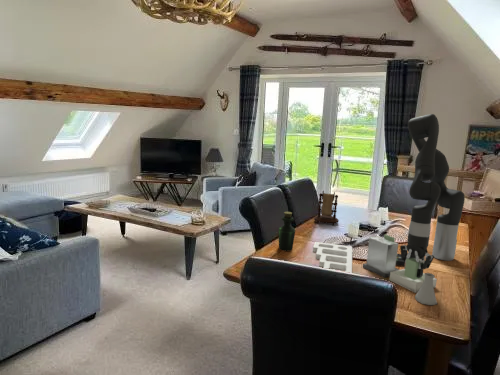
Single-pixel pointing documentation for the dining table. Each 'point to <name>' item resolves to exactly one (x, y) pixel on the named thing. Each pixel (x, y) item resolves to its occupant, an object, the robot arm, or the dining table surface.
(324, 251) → the holder
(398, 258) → the disk drive
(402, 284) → the tray
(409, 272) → the sage block
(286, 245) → the potion bottle
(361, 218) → the dining table surface
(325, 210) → the scroll
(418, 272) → the robot arm
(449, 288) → the dining table surface
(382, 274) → the block
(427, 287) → the flask
